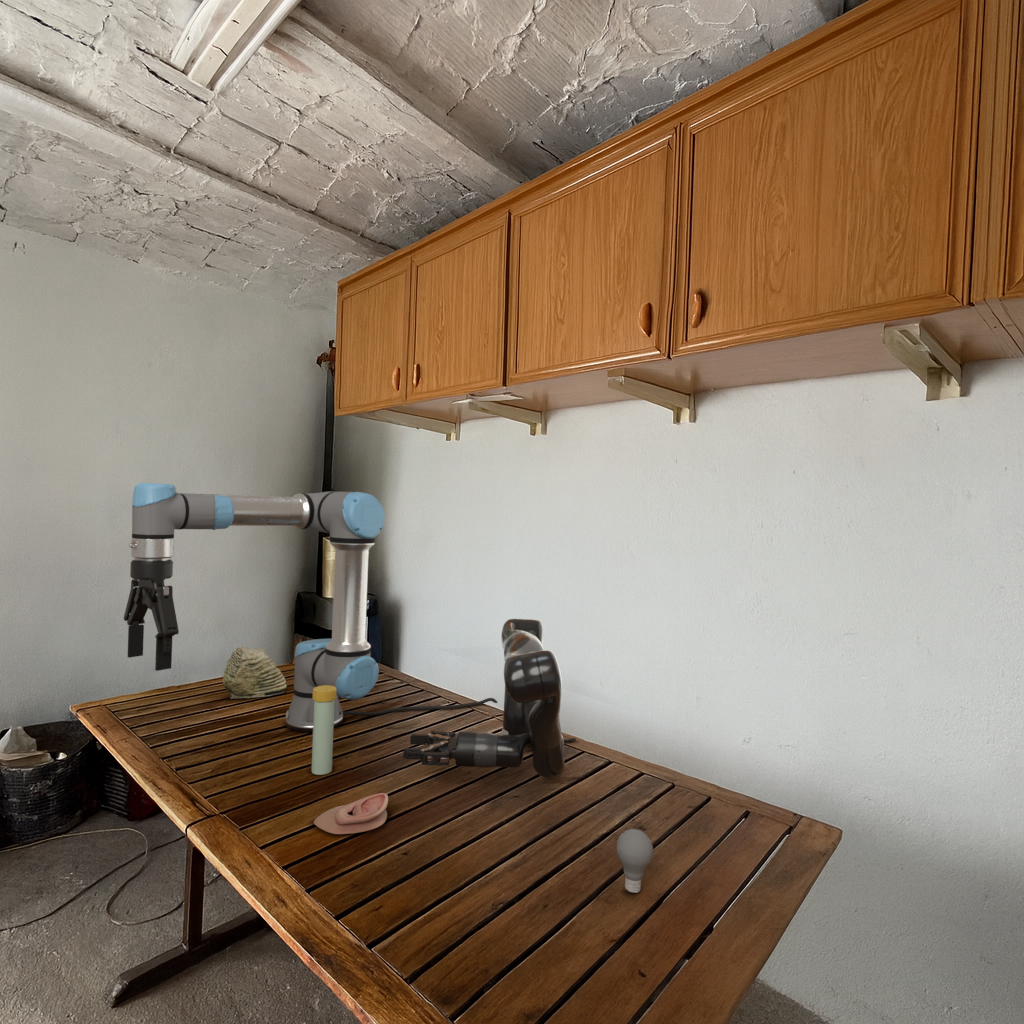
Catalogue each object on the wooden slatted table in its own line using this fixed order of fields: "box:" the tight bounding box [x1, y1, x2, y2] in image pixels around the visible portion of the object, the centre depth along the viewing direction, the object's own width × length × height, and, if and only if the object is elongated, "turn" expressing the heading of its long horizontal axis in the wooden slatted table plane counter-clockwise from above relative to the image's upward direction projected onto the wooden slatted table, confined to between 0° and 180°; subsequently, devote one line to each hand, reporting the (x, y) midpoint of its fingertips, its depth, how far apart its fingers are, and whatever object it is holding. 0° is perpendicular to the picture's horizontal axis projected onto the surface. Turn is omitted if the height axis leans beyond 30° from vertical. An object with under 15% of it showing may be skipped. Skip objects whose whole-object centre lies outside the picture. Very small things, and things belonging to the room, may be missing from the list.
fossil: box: [222, 646, 288, 699], centre depth 198 cm, size 9×18×15 cm, turn 132°
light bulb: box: [615, 828, 654, 894], centre depth 106 cm, size 6×6×10 cm
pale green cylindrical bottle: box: [310, 700, 335, 776], centre depth 146 cm, size 4×4×19 cm
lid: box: [313, 685, 337, 702], centre depth 146 cm, size 5×5×2 cm
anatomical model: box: [313, 792, 389, 835], centre depth 124 cm, size 13×4×12 cm
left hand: (148, 662), depth 129 cm, fingers open, 13 cm apart
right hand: (407, 746), depth 146 cm, fingers open, 8 cm apart
